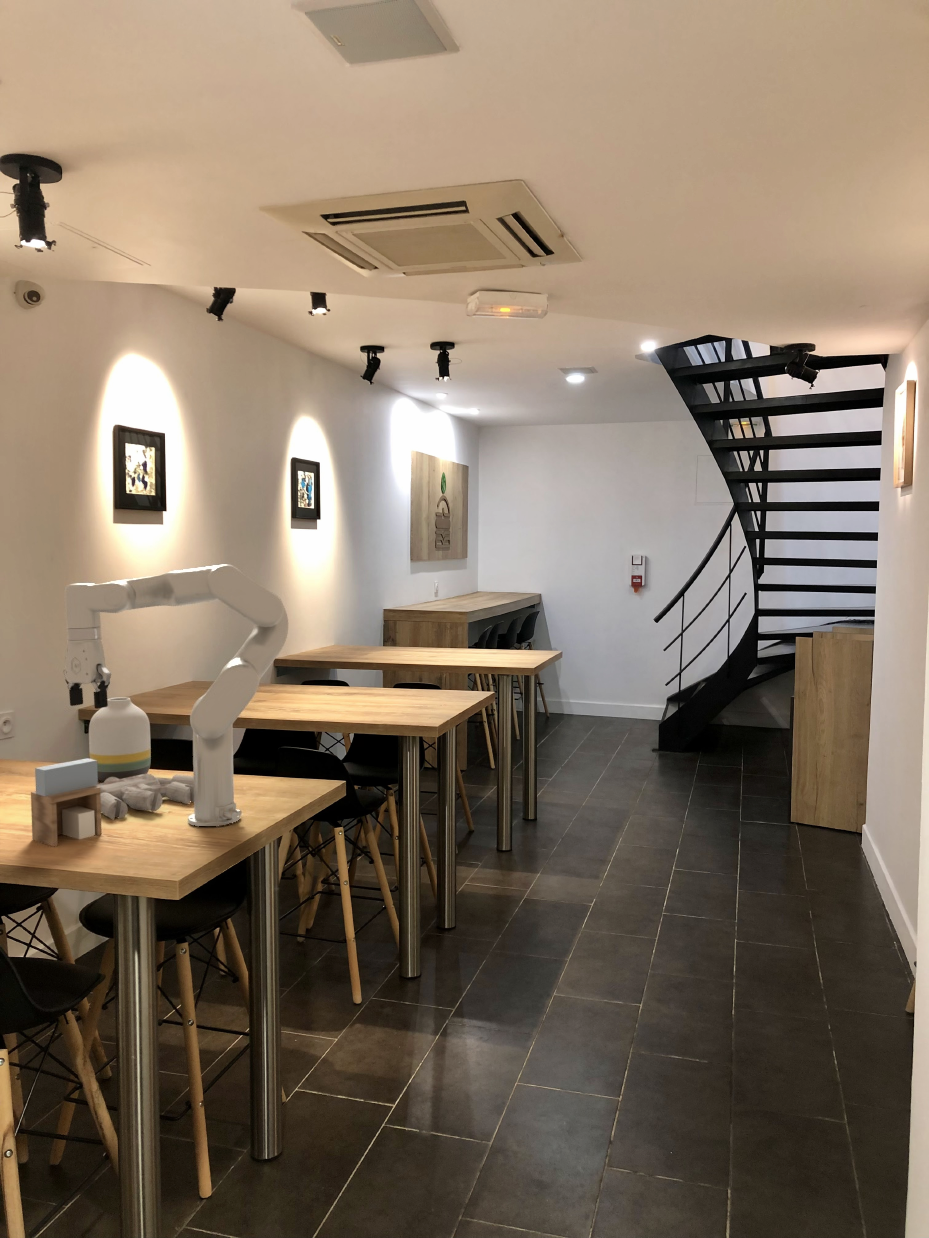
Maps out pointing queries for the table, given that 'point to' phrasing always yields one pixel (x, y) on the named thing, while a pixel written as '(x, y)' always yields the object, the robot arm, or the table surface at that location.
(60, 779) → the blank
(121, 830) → the table surface
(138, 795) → the white branched piece
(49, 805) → the open wooden box
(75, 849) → the table surface
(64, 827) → the block
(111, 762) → the vase
